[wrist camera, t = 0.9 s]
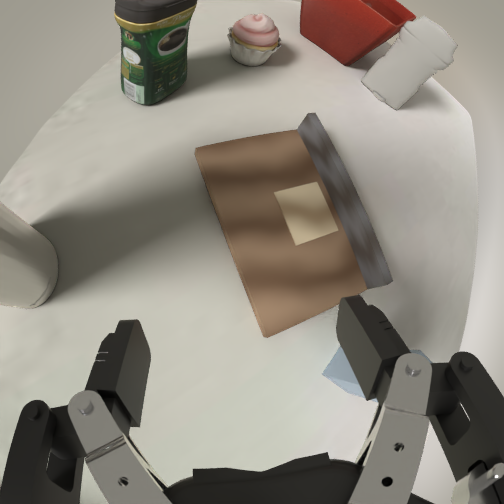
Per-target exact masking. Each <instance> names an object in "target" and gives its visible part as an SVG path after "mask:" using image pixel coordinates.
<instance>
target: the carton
mask: <svg viewBox="0 0 504 504" xmlns="http://www.w3.org/2000/svg"><path fill="white" fill-rule="evenodd" d="M410 352H411V353H415V354H419V355H421V356H423V357H425V358H426V359H427V360H428V361H429V362H430V363H432V362H431V361H430V360H429V359H428V358H427V357H426V356H425V355H424V354H423V353H422V352H421V351H420V350H410ZM322 374H323V375H324V376H325V377H327V378H328V379H329V380H331V381H332V382H334V383H335V384H336V385H338V386H339V387H340V388H342V389H343V390H345V391H346V392H347V393H350V394H353V395H356V396H360V397H363V398H365V396H364V394H363V392H362V390H361V387H360V385H359V383H358V381H357V379H356V377H355V374H354V372H353V370H352V368H351V366H350V364H349V362H348V360H347V358H346V355H345V353H344V351H343V349H342V347H341V346H340V348H339V349H338V351H337V352H336V354H335V355H334V357H333V358H332V360H331V361H330V363H329V364H328V366H327V367H326V369H325V370H324V372H323V373H322ZM372 401H375V402H378V401H377V399H376V398H375V399H372Z"/></svg>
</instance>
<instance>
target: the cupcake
mask: <svg viewBox="0 0 504 504" xmlns="http://www.w3.org/2000/svg"><path fill="white" fill-rule="evenodd" d="M228 29H229V34H228V35H227V36H228V38H229V41H230V51H231V55H232V57H233V58H234V59H235V60H236V61H237V62H239V63H241V64H244V65H247V66H258V65H261V64H263V63H265V61H266V60H267V59H268V58H269V57H270V56H271V54H272V53H274V52H275V51H276V50H277V49H278V48H280V47H281V46H282V45H281V43H280V41H281V39H280V38H279V31H278V29H277V27H276V26H275V25H274V22H273V20H272V19H271V18H270V17H268V16H267V15H265V14H263V13H260V14H259V15H252V14H251V15H248V16H245V17H244V18H242V19H241V20H239V21H237V22H236V23H235V24H234V25H233V27H231V28H228Z"/></svg>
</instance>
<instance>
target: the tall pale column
mask: <svg viewBox="0 0 504 504" xmlns="http://www.w3.org/2000/svg"><path fill="white" fill-rule="evenodd" d="M457 46H458V45H457V44H456V43H455V42H454V41H453V39H452V38H451V37H450V36H449V34H448V33H447V32H446V31H445V30H444V29H443V28H442V27H441V26H439V25H438V24H436V23H435V22H433V21H431V20H430V19H428V18H427V17H426V16H422V17H421V18H419V19H418V20H416V21H414V22H412V21H407V22H406V23H405V24H404V26H403V27H402V28H401V29H400V31H399V38H397V39H396V41H395V43H394V45H392V46H391V47H390V48H391V49H389V50H388V51H387V53H385V54H386V55H385V56H383V57H381V58H379V59H378V60H377V61H376V62H375V63H374V65H373V66H372V67H371V68H370V69H369V71H368V72H367V73H366V74H365V76H364V77H363V78H362V79H361V82H362V83H363V84H364V85H365V86H366V87H367V88H368V89H369V90H370V91H371V92H373V94H374V95H375V97H376V98H378V99H379V100H380V101H382V102H385V103H386V104H388V105H389V106H390V107H392V108H393V109H395V110H398V109H399V108H400V107H401V106H402V105H403V104H405V103H406V102H407V101H408V100H409V99H410V98H411V97H412V96H413V95H414V94H415V93H416V92H417V91H418V89H419V87H420V85H423V83H424V82H426V81H427V80H428V79H429V78H431V76H432V75H434V73H436V72H437V70H444V69H445V68H446V67H448V66H449V65H450V64H451V63H452V62H453V56H452V55H453V53H454V51H455V49H456V48H457Z"/></svg>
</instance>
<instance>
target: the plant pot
mask: <svg viewBox="0 0 504 504" xmlns="http://www.w3.org/2000/svg"><path fill="white" fill-rule="evenodd" d="M415 18H416V16H415V15H414V14H413V13H412V12H410V11H409V10H408V9H406V8H405V7H404V6H403V5H401V4H400V3H399V2H397V1H396V0H302V2H301V13H300V33H301V34H302V35H303V36H304V37H306V38H307V39H309V40H310V41H312V42H313V43H315V44H316V45H317V46H319V47H320V48H322V49H323V50H324V51H326V52H327V53H328V54H330V55H331V56H333V57H334V58H335V59H337V60H338V61H339V62H340V63H342V64H343V65H345V66H349V65H351V64H352V63H354V62H355V61H357V60H358V59H360V58H361V57H363V56H364V55H366V54H367V53H369V52H370V51H372V50H373V49H375V48H377V47H378V46H380V45H381V44H383V43H384V42H386V41H387V40H389V39H390V38H391V37H393V36H394V35H396V34H397V33H398V32H399V31H400V29H401V28H402V27H403V26H404V24H405V23H406V22H407V21H413V20H414V19H415Z"/></svg>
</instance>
